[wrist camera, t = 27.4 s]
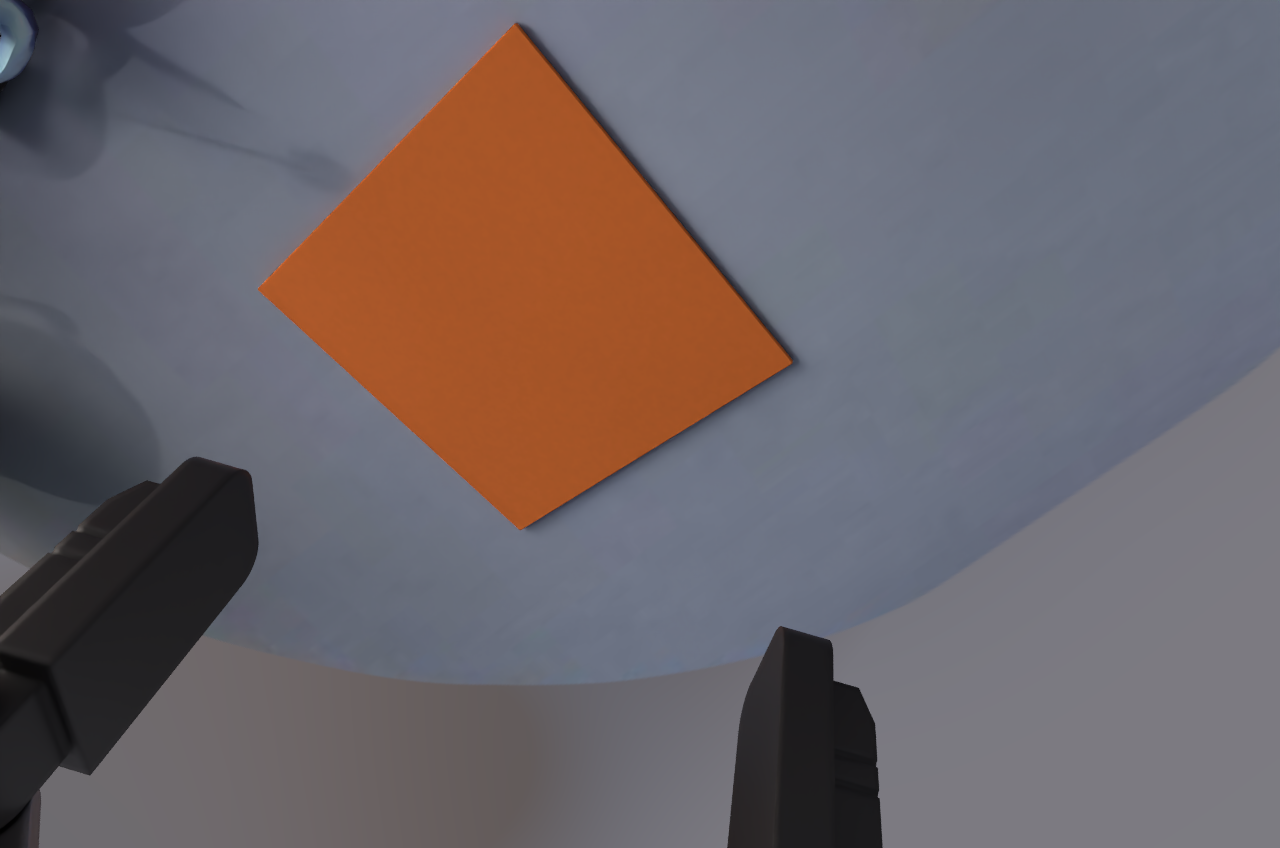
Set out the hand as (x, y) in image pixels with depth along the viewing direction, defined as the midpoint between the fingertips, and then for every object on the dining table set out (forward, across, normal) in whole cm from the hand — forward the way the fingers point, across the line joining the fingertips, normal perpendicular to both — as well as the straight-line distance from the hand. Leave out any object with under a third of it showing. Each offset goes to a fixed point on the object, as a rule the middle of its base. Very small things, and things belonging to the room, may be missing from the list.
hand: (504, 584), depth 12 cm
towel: (+24, +6, +10) cm, 27 cm away
